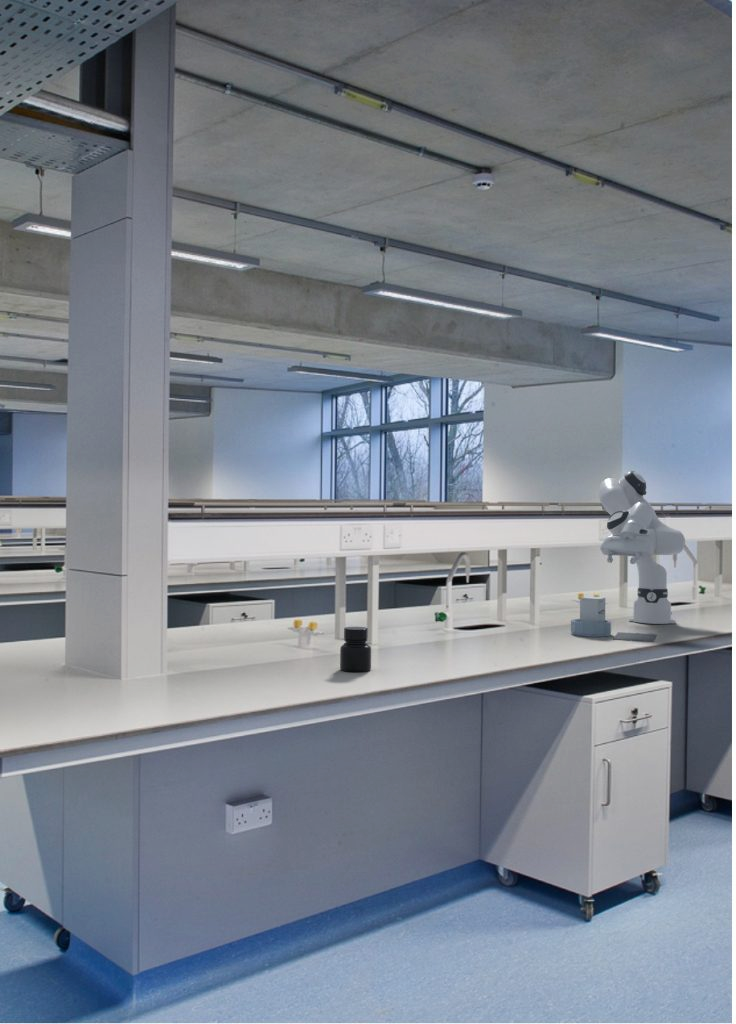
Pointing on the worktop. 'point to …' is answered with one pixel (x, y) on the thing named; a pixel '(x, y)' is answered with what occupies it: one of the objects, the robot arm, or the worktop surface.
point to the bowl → (590, 628)
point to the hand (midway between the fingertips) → (620, 562)
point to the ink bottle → (355, 650)
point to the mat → (635, 636)
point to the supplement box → (592, 610)
